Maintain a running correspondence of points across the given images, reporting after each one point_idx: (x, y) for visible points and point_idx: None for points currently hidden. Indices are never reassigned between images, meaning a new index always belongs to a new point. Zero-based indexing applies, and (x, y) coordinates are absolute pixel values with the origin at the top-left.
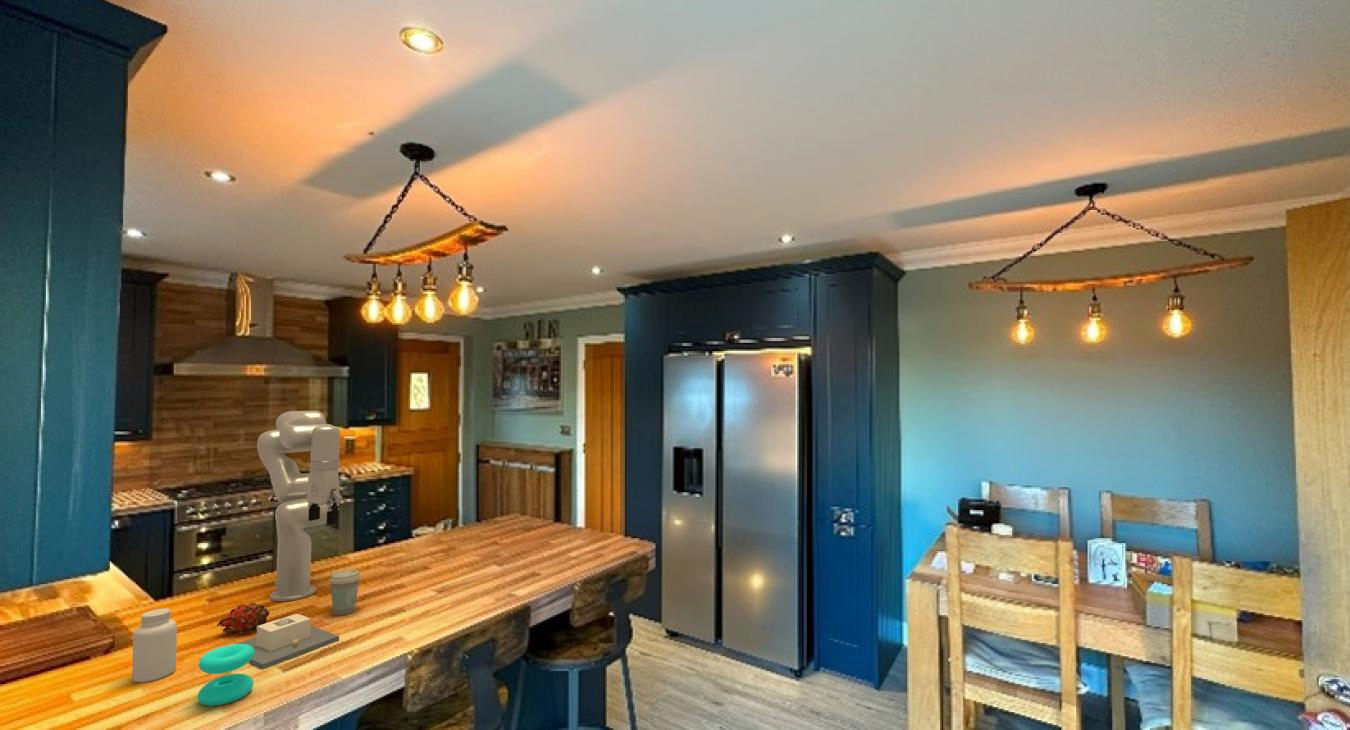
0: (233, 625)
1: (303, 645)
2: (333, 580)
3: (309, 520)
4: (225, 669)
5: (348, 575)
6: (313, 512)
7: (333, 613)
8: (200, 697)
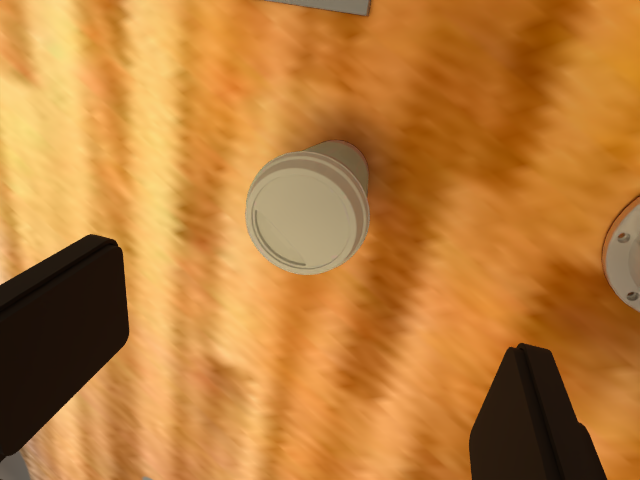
0: None
1: None
2: (302, 158)
3: (523, 343)
4: None
5: (263, 207)
6: (516, 475)
7: (351, 145)
8: None
